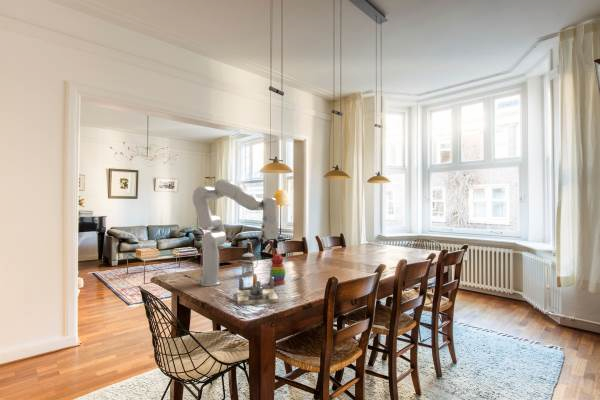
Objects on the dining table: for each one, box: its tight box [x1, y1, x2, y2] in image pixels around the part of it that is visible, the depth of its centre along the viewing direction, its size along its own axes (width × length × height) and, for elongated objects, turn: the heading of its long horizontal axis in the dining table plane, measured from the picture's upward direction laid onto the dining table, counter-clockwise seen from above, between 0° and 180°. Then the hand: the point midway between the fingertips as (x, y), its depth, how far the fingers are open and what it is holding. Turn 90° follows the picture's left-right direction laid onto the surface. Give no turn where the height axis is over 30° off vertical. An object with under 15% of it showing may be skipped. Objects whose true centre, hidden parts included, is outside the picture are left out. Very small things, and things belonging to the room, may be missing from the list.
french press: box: [240, 238, 259, 278], centre depth 218 cm, size 10×12×25 cm
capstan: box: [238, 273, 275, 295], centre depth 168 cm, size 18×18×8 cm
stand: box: [235, 289, 280, 306], centre depth 167 cm, size 20×21×4 cm
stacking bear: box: [267, 253, 286, 286], centre depth 199 cm, size 11×10×18 cm
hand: (269, 249), depth 184 cm, fingers open, 9 cm apart
